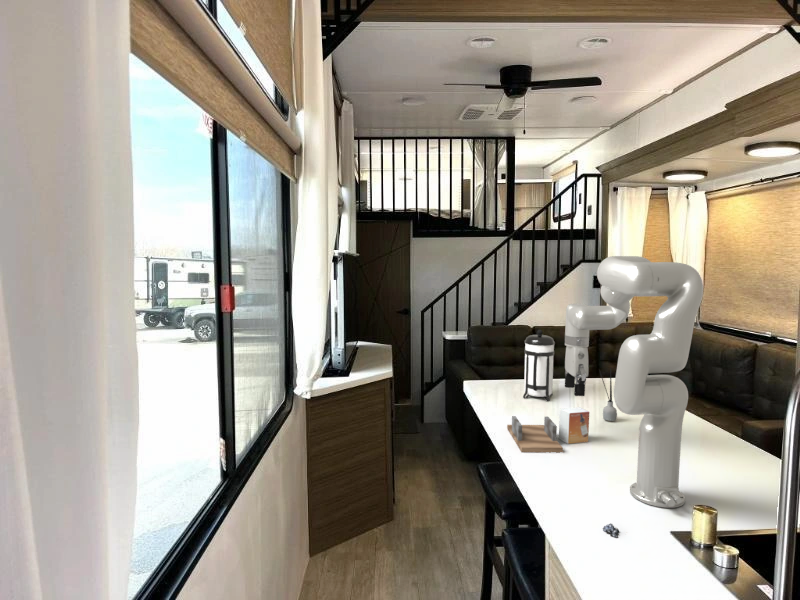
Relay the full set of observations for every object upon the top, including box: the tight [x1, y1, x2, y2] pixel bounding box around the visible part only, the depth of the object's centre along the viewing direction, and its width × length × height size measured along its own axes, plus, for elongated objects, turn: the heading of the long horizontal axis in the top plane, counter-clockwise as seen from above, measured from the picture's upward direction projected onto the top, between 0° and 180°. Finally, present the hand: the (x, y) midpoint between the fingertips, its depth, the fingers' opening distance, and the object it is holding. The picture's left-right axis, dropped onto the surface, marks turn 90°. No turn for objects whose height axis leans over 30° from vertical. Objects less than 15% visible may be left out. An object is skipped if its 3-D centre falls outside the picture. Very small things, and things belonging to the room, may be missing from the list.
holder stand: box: [506, 415, 564, 454], centre depth 169 cm, size 22×13×6 cm, turn 179°
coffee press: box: [522, 329, 556, 402], centre depth 220 cm, size 17×16×30 cm
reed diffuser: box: [598, 367, 618, 422], centre depth 190 cm, size 10×7×20 cm
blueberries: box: [602, 523, 628, 539], centre depth 112 cm, size 7×8×2 cm
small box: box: [558, 406, 590, 445], centre depth 169 cm, size 8×6×10 cm
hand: (574, 391), depth 168 cm, fingers open, 9 cm apart
